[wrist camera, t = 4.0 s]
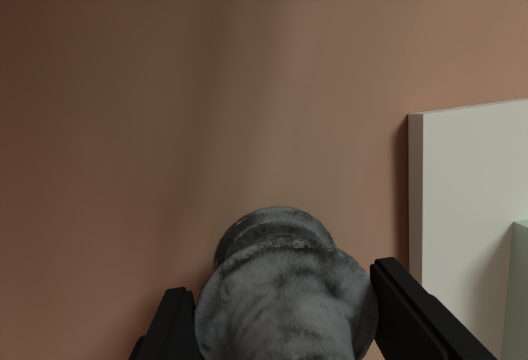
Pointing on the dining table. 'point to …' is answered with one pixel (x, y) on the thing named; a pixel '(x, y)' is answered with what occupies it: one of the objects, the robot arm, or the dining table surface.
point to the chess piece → (284, 294)
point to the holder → (473, 217)
